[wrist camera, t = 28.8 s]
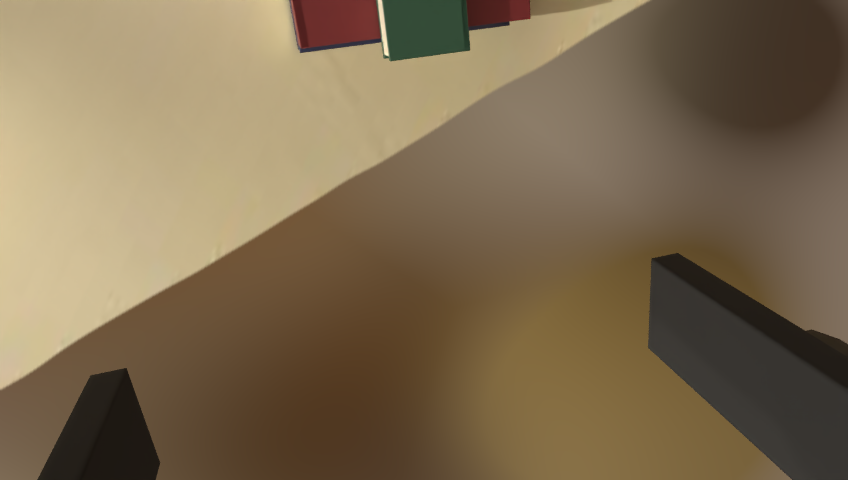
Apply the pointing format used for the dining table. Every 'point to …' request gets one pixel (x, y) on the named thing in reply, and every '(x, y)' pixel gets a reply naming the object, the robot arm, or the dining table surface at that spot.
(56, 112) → the dining table surface
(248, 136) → the dining table surface
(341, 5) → the encyclopedias
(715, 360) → the robot arm
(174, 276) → the dining table surface
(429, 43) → the pocket book
